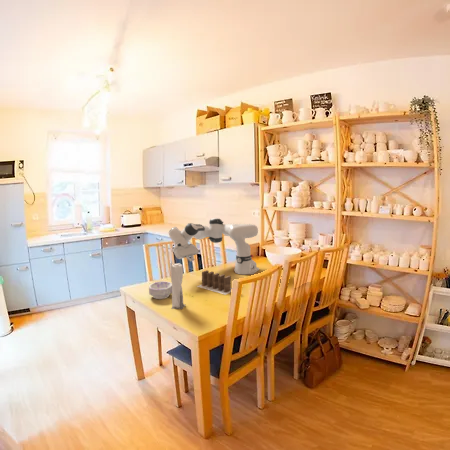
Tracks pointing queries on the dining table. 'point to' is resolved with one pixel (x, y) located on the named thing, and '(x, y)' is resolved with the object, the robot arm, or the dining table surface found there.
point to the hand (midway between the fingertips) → (192, 260)
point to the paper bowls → (160, 289)
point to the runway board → (214, 289)
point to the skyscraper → (177, 286)
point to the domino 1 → (204, 278)
